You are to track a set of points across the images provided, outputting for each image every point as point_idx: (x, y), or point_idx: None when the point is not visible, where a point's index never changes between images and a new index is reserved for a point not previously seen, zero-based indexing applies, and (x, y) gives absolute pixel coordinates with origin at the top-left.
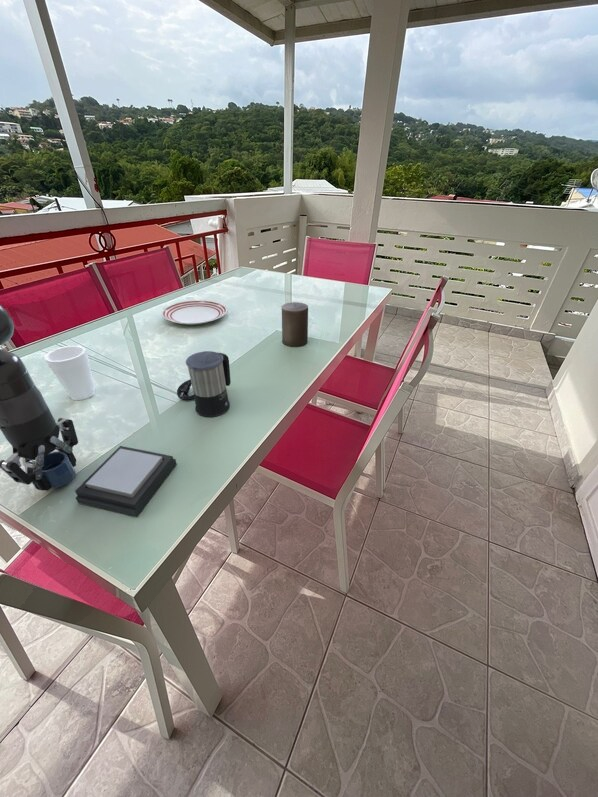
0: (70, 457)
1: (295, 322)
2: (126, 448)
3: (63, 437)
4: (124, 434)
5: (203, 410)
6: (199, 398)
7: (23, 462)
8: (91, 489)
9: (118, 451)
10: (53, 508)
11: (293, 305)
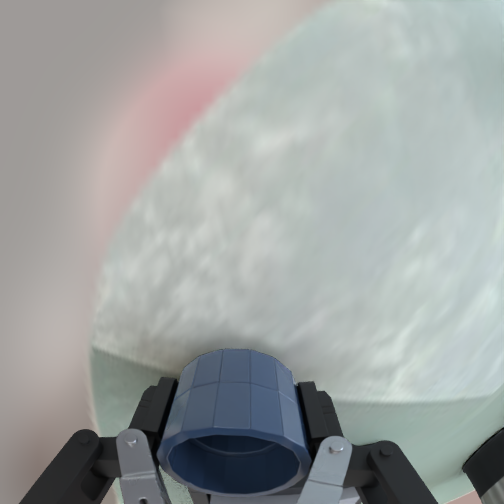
0: None
1: None
2: None
3: (381, 485)
4: (462, 383)
5: (475, 468)
6: (489, 483)
7: (122, 492)
8: (206, 502)
9: (347, 500)
10: None
11: None
